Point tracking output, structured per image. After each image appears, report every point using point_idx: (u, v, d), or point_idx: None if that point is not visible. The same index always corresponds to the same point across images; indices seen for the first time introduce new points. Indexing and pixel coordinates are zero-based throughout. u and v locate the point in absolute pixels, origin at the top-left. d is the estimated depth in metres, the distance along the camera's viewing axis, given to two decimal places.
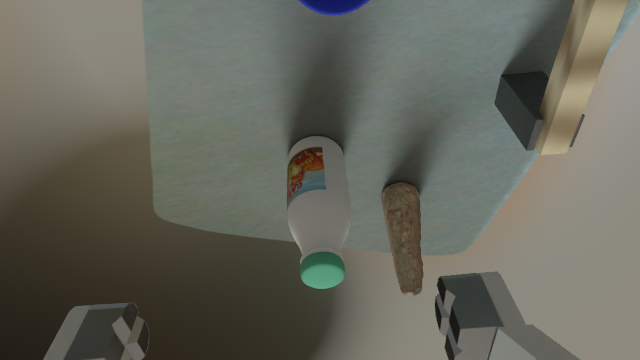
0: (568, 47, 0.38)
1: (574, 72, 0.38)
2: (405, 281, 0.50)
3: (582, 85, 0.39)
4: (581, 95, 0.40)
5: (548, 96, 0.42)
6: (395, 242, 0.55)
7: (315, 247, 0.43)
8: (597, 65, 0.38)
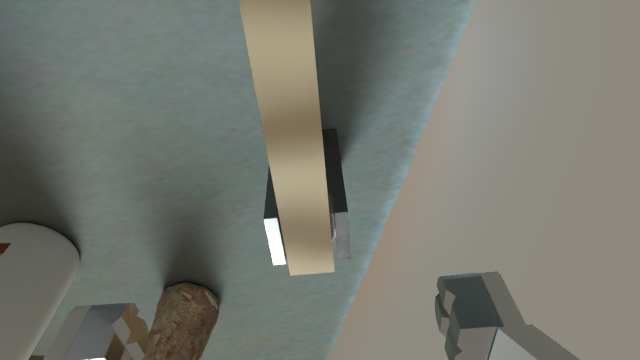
0: None
1: (274, 142, 0.20)
2: None
3: (302, 164, 0.21)
4: (309, 182, 0.22)
5: None
6: None
7: None
8: (312, 129, 0.20)
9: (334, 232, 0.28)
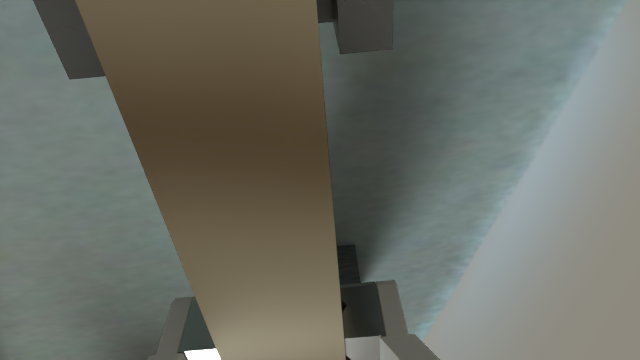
0: None
1: None
2: None
3: None
4: None
5: None
6: None
7: None
8: None
9: None
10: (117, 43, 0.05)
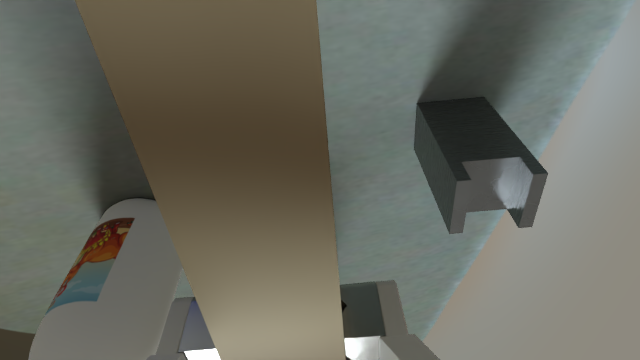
0: None
1: None
2: None
3: None
4: None
5: None
6: None
7: None
8: None
9: (507, 200, 0.26)
10: (119, 50, 0.05)
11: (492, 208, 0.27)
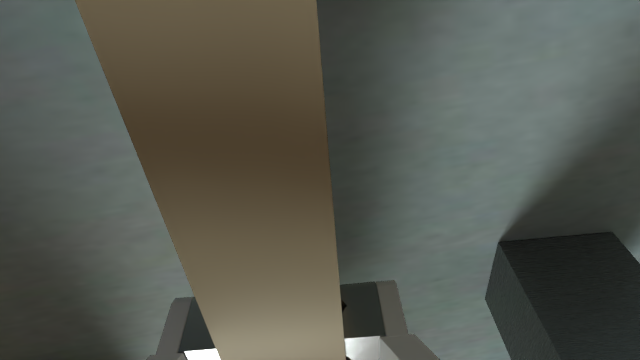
0: None
1: None
2: None
3: None
4: None
5: None
6: None
7: None
8: None
9: None
10: (120, 52, 0.05)
11: None
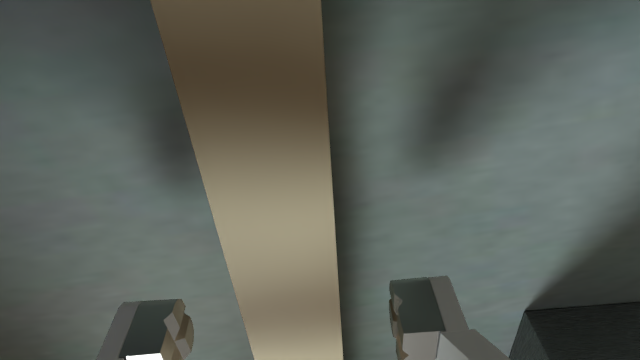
0: None
1: (260, 328, 0.12)
2: None
3: (307, 353, 0.13)
4: None
5: None
6: None
7: None
8: (325, 312, 0.12)
9: None
10: (170, 7, 0.07)
11: None
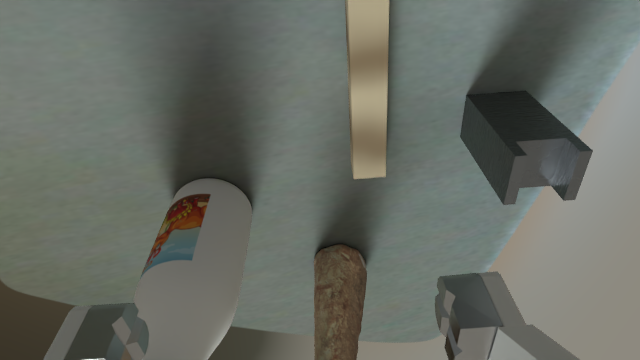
0: (347, 41, 0.31)
1: (356, 71, 0.31)
2: None
3: (372, 88, 0.32)
4: (376, 102, 0.32)
5: (349, 105, 0.34)
6: (318, 337, 0.37)
7: None
8: (382, 62, 0.30)
9: (552, 178, 0.30)
10: None
11: (538, 185, 0.30)
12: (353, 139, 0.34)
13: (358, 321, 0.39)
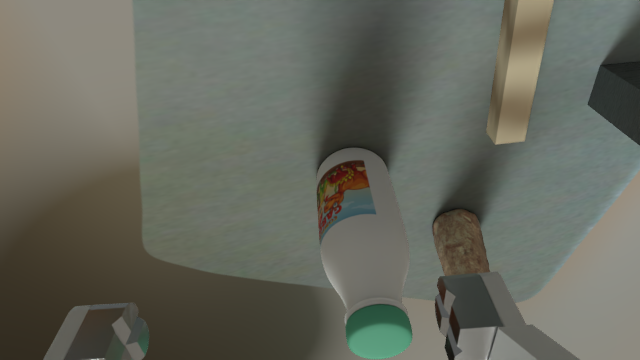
0: (507, 17, 0.34)
1: (516, 43, 0.34)
2: None
3: (528, 59, 0.35)
4: (529, 71, 0.36)
5: (496, 76, 0.38)
6: None
7: (368, 297, 0.29)
8: (541, 34, 0.34)
9: None
10: None
11: None
12: (502, 107, 0.38)
13: None
